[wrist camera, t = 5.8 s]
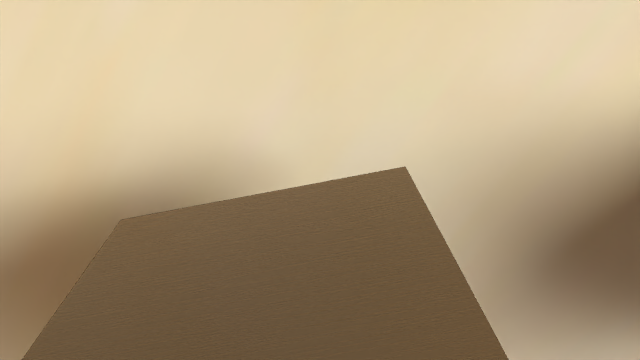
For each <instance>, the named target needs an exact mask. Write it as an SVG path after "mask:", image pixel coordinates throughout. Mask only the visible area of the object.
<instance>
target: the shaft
mask: <svg viewBox="0 0 640 360" xmlns="http://www.w3.org/2000/svg"><path fill="white" fill-rule="evenodd" d="M22 360H508V358H507V356H506V354H505V352H504V350H503V349H502V347H501V345H500V343H499V341H498V339H497V337H496V335H495V334H494V332H493V330H492V328H491V326H490V324H489V322H488V320H487V319H486V317H485V315H484V313H483V311H482V309H481V307H480V305H479V304H478V302H477V300H476V298H475V296H474V294H473V292H472V290H471V289H470V287H469V285H468V283H467V281H466V279H465V277H464V275H463V274H462V272H461V270H460V268H459V266H458V264H457V262H456V260H455V259H454V257H453V255H452V253H451V251H450V249H449V247H448V245H447V244H446V242H445V240H444V238H443V236H442V234H441V232H440V230H439V229H438V227H437V225H436V223H435V221H434V219H433V217H432V216H431V214H430V212H429V210H428V208H427V206H426V204H425V202H424V201H423V199H422V197H421V195H420V193H419V191H418V189H417V187H416V186H415V184H414V182H413V180H412V178H411V176H410V174H409V172H408V171H407V169H406V167H400V168H395V169H390V170H384V171H379V172H374V173H368V174H363V175H358V176H352V177H347V178H342V179H336V180H331V181H326V182H320V183H315V184H310V185H304V186H299V187H294V188H288V189H283V190H278V191H272V192H267V193H262V194H256V195H251V196H246V197H240V198H235V199H230V200H224V201H219V202H214V203H208V204H203V205H198V206H192V207H187V208H182V209H176V210H171V211H166V212H160V213H155V214H150V215H144V216H139V217H134V218H128V219H123V220H121V221H120V222H119V223H118V225H117V226H116V228H115V229H114V231H113V232H112V233H111V235H110V236H109V238H108V239H107V240H106V242H105V243H104V245H103V246H102V247H101V249H100V250H99V252H98V253H97V255H96V256H95V257H94V259H93V260H92V262H91V263H90V264H89V266H88V267H87V269H86V270H85V271H84V273H83V274H82V276H81V277H80V278H79V280H78V281H77V283H76V284H75V286H74V287H73V288H72V290H71V291H70V293H69V294H68V295H67V297H66V298H65V300H64V301H63V302H62V304H61V305H60V307H59V308H58V310H57V311H56V312H55V314H54V315H53V317H52V318H51V319H50V321H49V322H48V324H47V325H46V326H45V328H44V329H43V331H42V332H41V334H40V335H39V336H38V338H37V339H36V341H35V342H34V343H33V345H32V346H31V348H30V349H29V350H28V352H27V353H26V355H25V356H24V358H23V359H22Z"/></svg>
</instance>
